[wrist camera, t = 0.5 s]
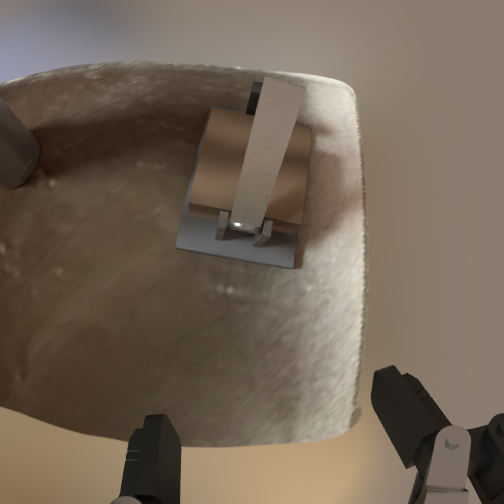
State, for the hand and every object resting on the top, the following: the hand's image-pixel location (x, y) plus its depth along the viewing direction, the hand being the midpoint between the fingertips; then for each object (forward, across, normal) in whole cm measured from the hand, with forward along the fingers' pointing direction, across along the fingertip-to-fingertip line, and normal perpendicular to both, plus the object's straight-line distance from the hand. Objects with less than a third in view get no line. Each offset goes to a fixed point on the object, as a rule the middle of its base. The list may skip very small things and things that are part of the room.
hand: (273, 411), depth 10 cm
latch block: (+32, -3, -4) cm, 32 cm away
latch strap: (+19, -3, -7) cm, 20 cm away
